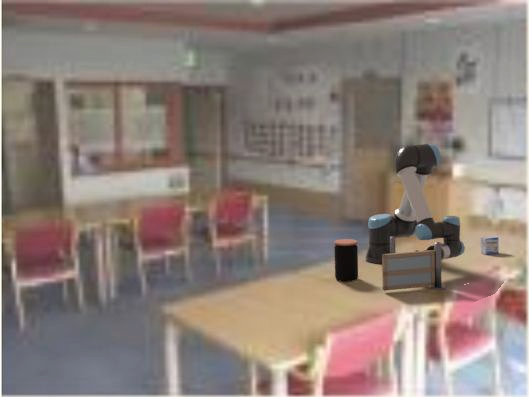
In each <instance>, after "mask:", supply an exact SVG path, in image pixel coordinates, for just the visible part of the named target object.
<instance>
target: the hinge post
mask: <svg viewBox="0 0 529 397" xmlns="http://www.w3.org/2000/svg"><path fill="white" fill-rule="evenodd" d="M441 243H442V242H440V241H435V242H433V245H434V251H435V286H430V290H437V291H438V290H439V291H440V290H441V291H446V284H445V283H444V284H443V283H442V261H441Z"/></svg>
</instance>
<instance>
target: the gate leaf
mask: <svg viewBox="0 0 529 397" xmlns="http://www.w3.org/2000/svg"><path fill="white" fill-rule="evenodd" d="M426 250H427V249H426ZM381 268H382V270H381V271H382V290H383V291H384V292H386V291H394V290H406V289H416V288H419V289H420V288H429V287H431V286H435V251H434V250H427V251H424V250H420V251H419V250H418V251H416V250H415V251H406V252H404V251H403V252H396V253H391V254H382V263H381Z"/></svg>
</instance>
